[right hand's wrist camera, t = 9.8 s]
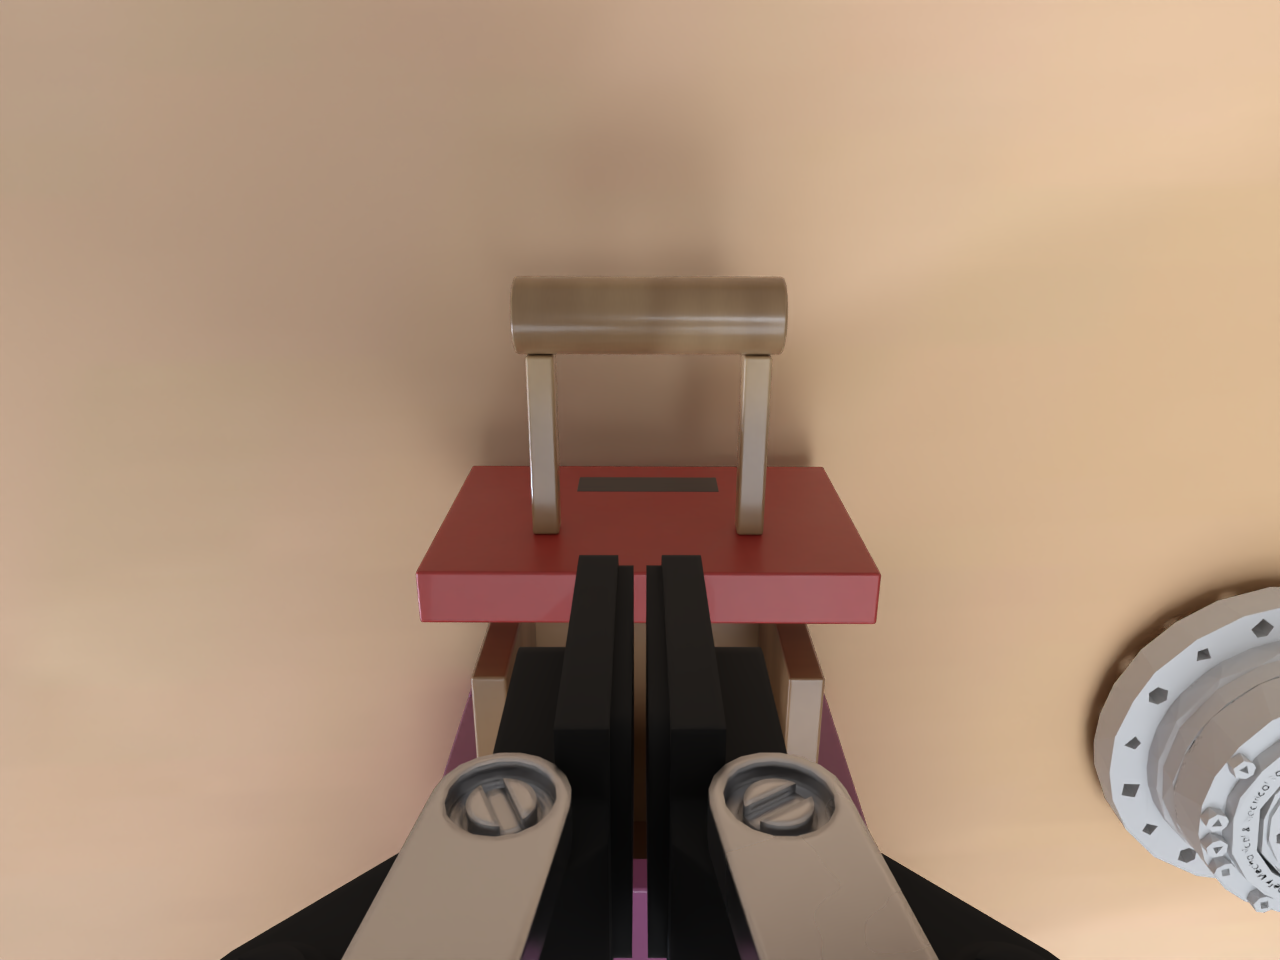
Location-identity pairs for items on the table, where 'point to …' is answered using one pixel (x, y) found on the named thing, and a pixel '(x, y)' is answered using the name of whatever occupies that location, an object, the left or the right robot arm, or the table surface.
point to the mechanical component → (1203, 746)
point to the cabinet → (827, 758)
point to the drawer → (651, 509)
